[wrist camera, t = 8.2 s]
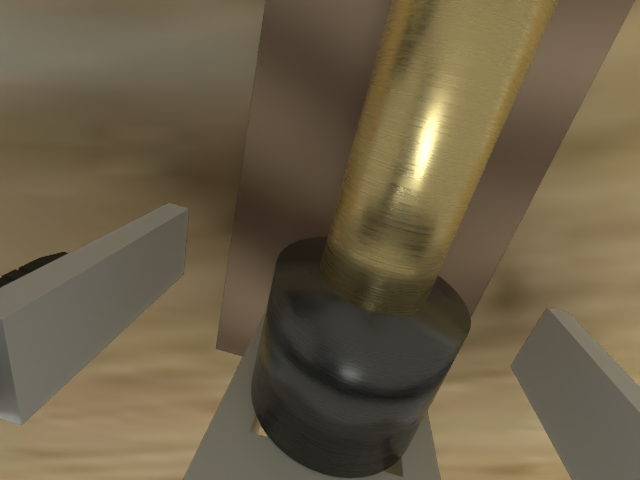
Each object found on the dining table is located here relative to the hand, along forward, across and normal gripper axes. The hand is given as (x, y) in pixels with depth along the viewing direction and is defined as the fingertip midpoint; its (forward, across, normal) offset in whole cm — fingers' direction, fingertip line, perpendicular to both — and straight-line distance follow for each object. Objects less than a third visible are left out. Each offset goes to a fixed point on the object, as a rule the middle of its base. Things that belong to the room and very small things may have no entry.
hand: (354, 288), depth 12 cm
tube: (0, 0, +4) cm, 5 cm away
